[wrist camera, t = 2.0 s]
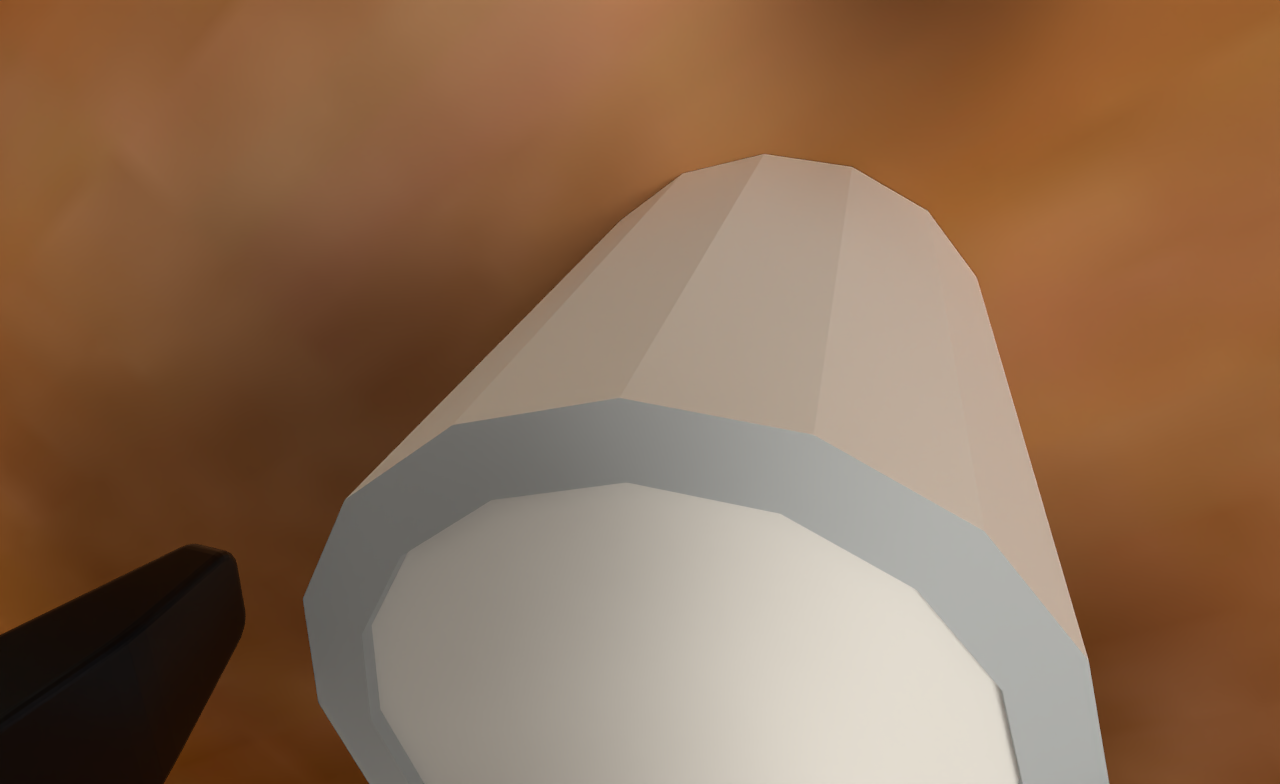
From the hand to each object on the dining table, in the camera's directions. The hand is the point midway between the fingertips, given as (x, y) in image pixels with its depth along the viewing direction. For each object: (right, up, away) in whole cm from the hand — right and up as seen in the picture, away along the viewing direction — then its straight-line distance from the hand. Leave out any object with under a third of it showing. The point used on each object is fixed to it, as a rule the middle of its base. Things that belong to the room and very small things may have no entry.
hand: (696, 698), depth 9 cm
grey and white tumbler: (+1, +3, +5) cm, 7 cm away
